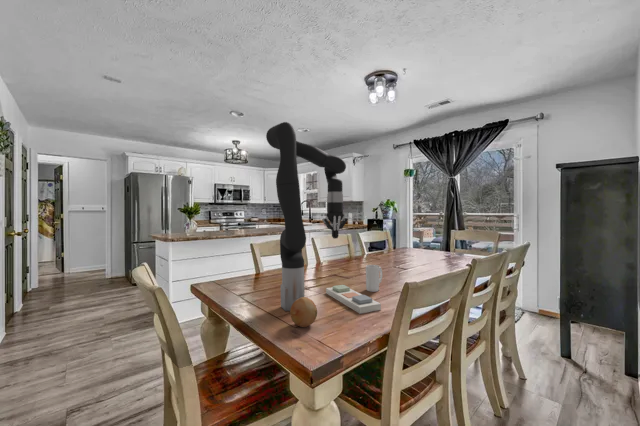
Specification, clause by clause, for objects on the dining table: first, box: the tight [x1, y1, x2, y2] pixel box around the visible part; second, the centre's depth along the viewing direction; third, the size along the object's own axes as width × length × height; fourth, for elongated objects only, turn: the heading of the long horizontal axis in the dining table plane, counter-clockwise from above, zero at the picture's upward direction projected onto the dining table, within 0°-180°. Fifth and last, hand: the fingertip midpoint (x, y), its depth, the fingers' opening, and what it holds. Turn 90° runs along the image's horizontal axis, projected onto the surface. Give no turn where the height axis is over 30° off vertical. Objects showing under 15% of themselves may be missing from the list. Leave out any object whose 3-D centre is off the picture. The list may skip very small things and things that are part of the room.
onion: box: [289, 296, 318, 328], centre depth 104 cm, size 10×10×10 cm
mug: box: [365, 264, 383, 293], centre depth 148 cm, size 10×7×12 cm, turn 122°
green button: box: [332, 284, 351, 293], centre depth 139 cm, size 6×6×2 cm
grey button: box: [352, 294, 373, 305], centre depth 123 cm, size 6×6×2 cm
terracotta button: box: [342, 292, 359, 298], centre depth 131 cm, size 6×6×2 cm
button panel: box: [325, 286, 382, 315], centre depth 131 cm, size 10×30×2 cm, turn 25°
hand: (335, 238), depth 140 cm, fingers closed
